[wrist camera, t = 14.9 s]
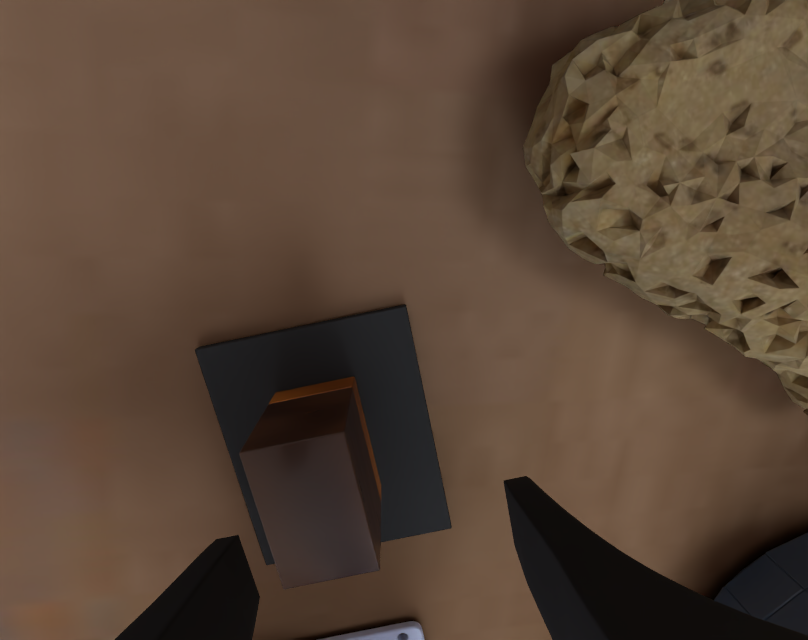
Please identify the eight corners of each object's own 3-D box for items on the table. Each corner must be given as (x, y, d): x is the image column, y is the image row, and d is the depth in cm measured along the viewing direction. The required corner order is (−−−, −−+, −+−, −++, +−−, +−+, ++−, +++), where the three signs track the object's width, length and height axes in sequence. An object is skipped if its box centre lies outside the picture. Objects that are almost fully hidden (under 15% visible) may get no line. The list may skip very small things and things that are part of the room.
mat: (268, 559, 22) (266, 565, 22) (198, 346, 19) (194, 349, 19) (450, 522, 22) (451, 528, 22) (405, 304, 19) (406, 306, 19)
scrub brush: (306, 501, 21) (283, 590, 16) (274, 392, 20) (237, 453, 15) (381, 486, 21) (380, 570, 16) (354, 375, 19) (344, 431, 15)
